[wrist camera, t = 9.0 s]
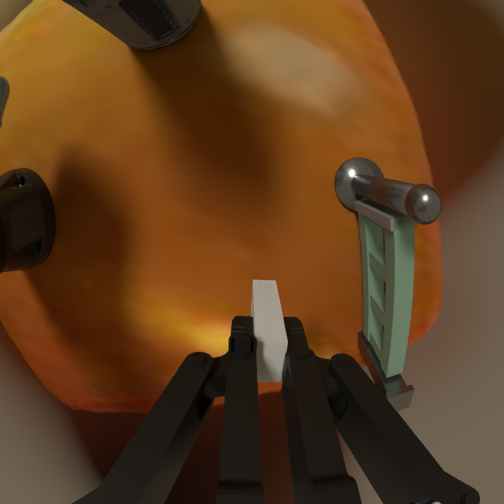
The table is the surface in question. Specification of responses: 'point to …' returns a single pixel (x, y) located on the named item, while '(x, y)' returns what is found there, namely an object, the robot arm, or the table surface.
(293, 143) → the table surface
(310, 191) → the table surface
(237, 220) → the table surface
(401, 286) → the gate
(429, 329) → the table surface
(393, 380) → the post
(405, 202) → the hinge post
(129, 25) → the beverage bottle
